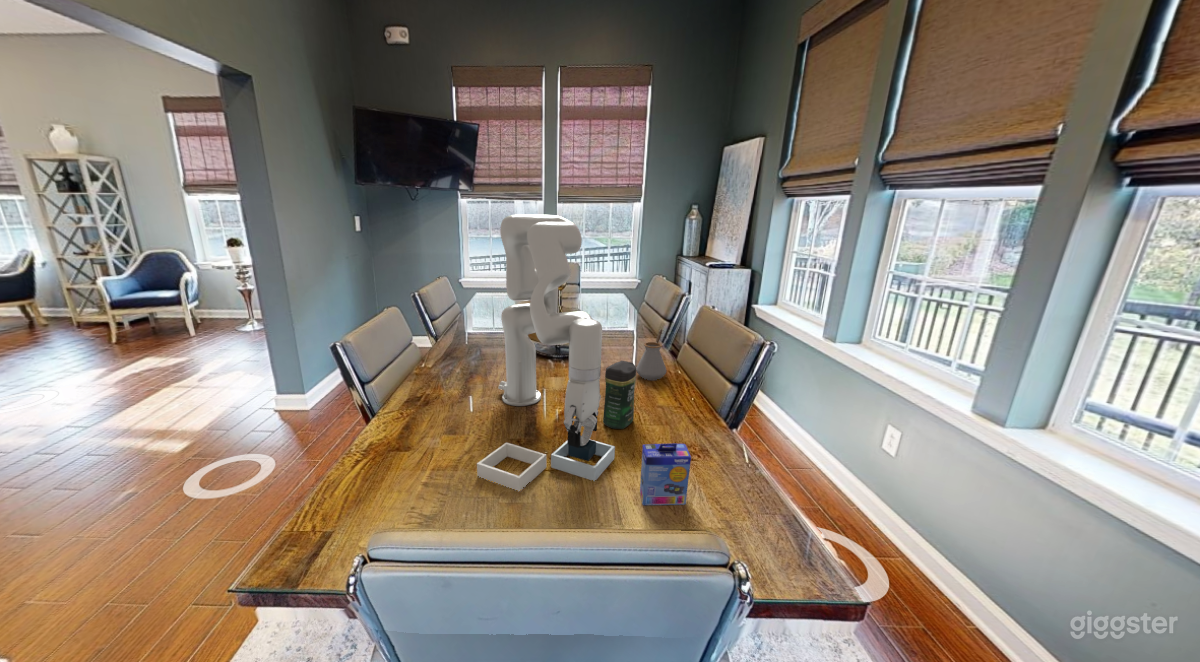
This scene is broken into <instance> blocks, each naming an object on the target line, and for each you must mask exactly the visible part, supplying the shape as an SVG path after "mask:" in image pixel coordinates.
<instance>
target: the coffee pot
mask: <svg viewBox="0 0 1200 662" xmlns="http://www.w3.org/2000/svg"><path fill="white" fill-rule="evenodd" d="M664 332H665V330H664V329H659V330H658V334H657V336H656V339H655V341H647V342H645V343H644V344H643V346H644V348H645V350H644V352H643V354H642V356H641V358H640V359H639V361H638V363H637V364H636V365H637V366H636V374H638V376H640V378H641V377H642V378H641V379H643V378H644V379H643V380H646V379H647V380H646V381H658V380H657V379H659V380H660V379H662V378H663V377H664V376H666V374H667V368H666V364H665V362H664V360H663V357H662V354H661V351H660V349H662V348H663V345H662V344H661V343H659V342H660V340H661V336H662V334H664Z"/></svg>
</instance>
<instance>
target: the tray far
mask: <svg viewBox="0 0 1200 662" xmlns="http://www.w3.org/2000/svg"><path fill="white" fill-rule="evenodd" d="M589 440H592V439H591V438H590V439H589ZM592 441H594V439H593V440H592ZM595 441H596V440H595ZM615 449H616V446H614V445H611V444H608V443H604V442H601V441H596V453H595V454H594V455H596V456H599V457H601V458H600V459H599V460H598V461H597V462H596V463H595V464H594V465H593V464H592V465H591V464H589V463H585V462H583V461H578V460H575V459H572V458H569V457H567V456H568V439H567V440H566V441H565V442H563V444H562V445H560V446H559V447H558V448H557V449H556V450H555V451H553V452H552V453H551V454H550V468H552V469H555V470H559V471H562V472H564V473H568V474H571V475H573V476H577V477H580V478H584V479H587V480H590V481H592V480H593V482H596V481H597V480H598V478H599V477H601V475H602V473H603V472H605V470H606V469H607V468H608V467H609V466H610V465H611V463H612V462H613V461H614V460H615V455H616V454H615V451H616V450H615ZM595 480H596V481H595Z"/></svg>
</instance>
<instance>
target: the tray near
mask: <svg viewBox="0 0 1200 662" xmlns="http://www.w3.org/2000/svg"><path fill="white" fill-rule="evenodd" d="M507 457H508V458H511V459H514V460H518V461H521V462H524V463H527V464H530V465H529V466H528V467H527V468H526V469H525V470H524V471H522V472H521V473H520V474H519V475H517V474H514V473H511V472H508V471H506V470H502V469H500V468H496V467H495V466H496V465H498V464H499V463H501V462H502V461H504V460H505V458H507ZM493 466H494V467H493ZM547 467H548V466H547V454H546V453H543V452H539V451H535V450H533V449H530V448H526V447H523V446H520V445H517V444H513V443H510V442H505V443H503V444H502V445H501V446H499V447H498V448H497V449H495V450H493V451H492V452H491V453H490V454H487V456H486V457H483V459H481V460H480V461H478V462H476V471H477V472H476V473H477V474H476V475H477V477H478V476H479V477H478V478H480V477H481V478H480V479H482V478H484V479H483V480H485V479H487V480H486V481H488V480H490V481H489V482H491V481H493V482H492V483H494V482H496V483H498V484H497V485H499V484H501V485H500V486H502V485H504V486H503V487H505V486H506V487H505V488H508V487H509V488H508V489H510V488H512V489H511V490H513V489H515V490H514V491H516V490H518V491H517V492H519V491H520V490H521V489H522V490H523V489H524V488H526V487H527V486H528V485H529V484H530V483H531V482H532V481H533V480H534V479H536V478H537V477H538V476H539V475H540V474H541V473H543V471H544V470H545V469H547ZM529 482H530V483H529ZM496 483H495V484H496ZM528 483H529V484H528ZM527 484H528V485H527ZM526 485H527V486H526ZM523 487H524V488H523ZM522 490H521V491H522ZM521 491H520V492H521Z"/></svg>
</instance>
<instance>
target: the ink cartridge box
mask: <svg viewBox="0 0 1200 662" xmlns="http://www.w3.org/2000/svg"><path fill="white" fill-rule="evenodd" d="M691 461H692V455H691V454H690V452H689V450H688V446H687V444H685V443H674V442H673V443H649V444H642V450H641V467H640V468H641V470H640V481H639V483H640V484H639V485H640V486H639V493H640V494H639V495H640V499H641V504H642V506H681V505H682V506H684V505H686V504H687V495H688V489H689V488H688V485H689V478H690V477H689V476H690V468H691V463H692V462H691Z"/></svg>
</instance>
